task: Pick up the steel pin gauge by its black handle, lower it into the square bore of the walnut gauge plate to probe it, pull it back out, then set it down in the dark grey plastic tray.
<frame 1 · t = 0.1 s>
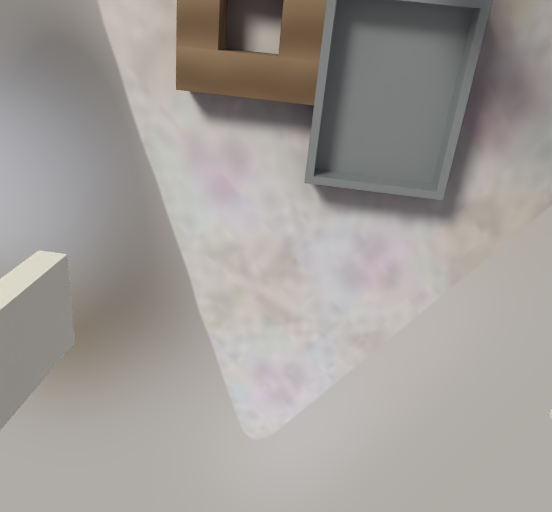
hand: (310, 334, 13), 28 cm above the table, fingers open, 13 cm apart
tray: (386, 94, 37), on the table
gauge plate: (256, 20, 36), on the table
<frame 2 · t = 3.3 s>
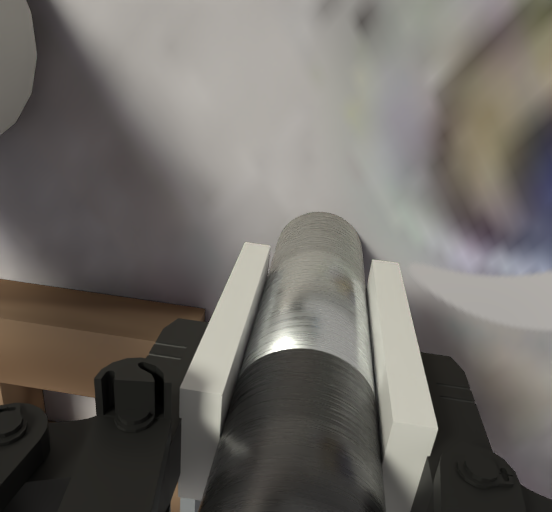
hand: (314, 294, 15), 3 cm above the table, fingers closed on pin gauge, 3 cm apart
pin gauge: (319, 252, 18), on the table, touching gripper
gauge plate: (88, 391, 22), on the table
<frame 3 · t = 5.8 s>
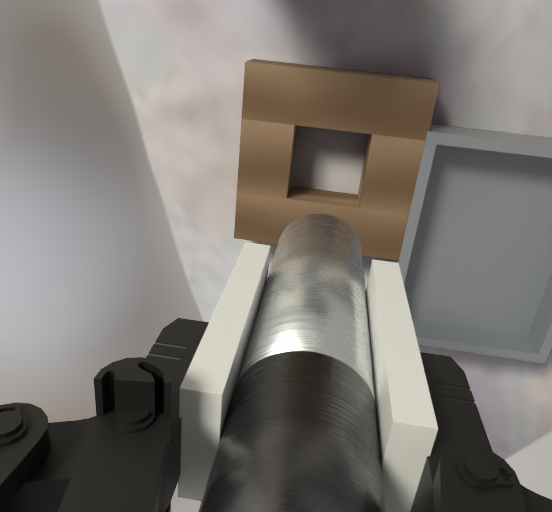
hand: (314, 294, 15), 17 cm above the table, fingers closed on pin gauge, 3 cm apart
pin gauge: (318, 253, 18), point 14 cm above the table, touching gripper
tray: (480, 240, 31), on the table
gauge plate: (328, 157, 30), on the table
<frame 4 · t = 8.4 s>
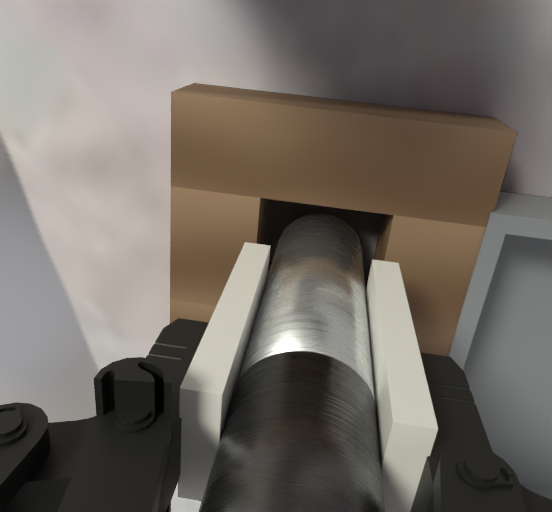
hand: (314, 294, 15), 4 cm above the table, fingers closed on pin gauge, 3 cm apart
pin gauge: (318, 253, 18), point 1 cm above the table, touching gripper
gauge plate: (320, 237, 19), on the table
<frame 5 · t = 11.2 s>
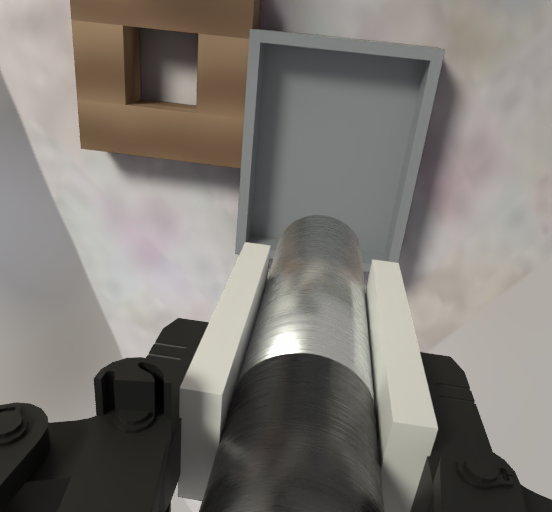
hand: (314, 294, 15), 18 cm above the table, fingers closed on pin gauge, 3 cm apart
pin gauge: (318, 254, 18), point 15 cm above the table, touching gripper
tray: (329, 152, 31), on the table
gauge plate: (174, 67, 30), on the table
when the fingers open (5 cm above the table, at t = 13.7 s): pin gauge drops 1 cm, resting on tray.
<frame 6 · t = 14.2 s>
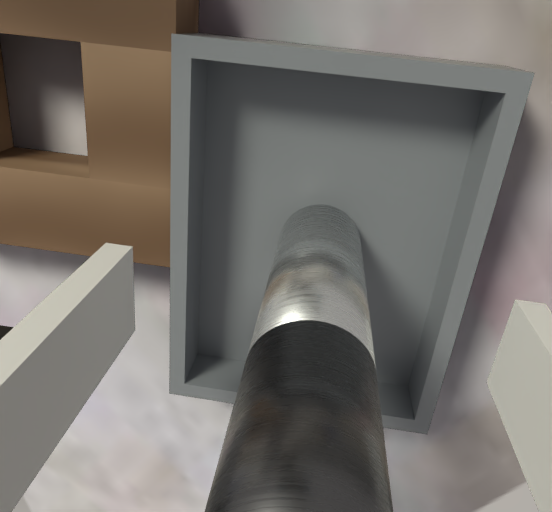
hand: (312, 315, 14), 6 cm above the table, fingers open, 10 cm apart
pin gauge: (319, 242, 19), point 1 cm above the table, touching tray
tray: (320, 234, 19), on the table
gauge plate: (61, 96, 18), on the table
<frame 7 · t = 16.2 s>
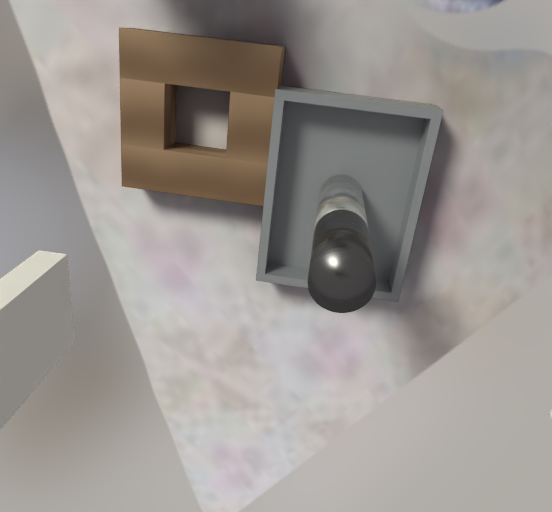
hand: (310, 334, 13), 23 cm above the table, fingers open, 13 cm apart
pin gauge: (340, 195, 35), point 1 cm above the table, touching tray
tray: (341, 192, 35), on the table
gauge plate: (205, 116, 34), on the table
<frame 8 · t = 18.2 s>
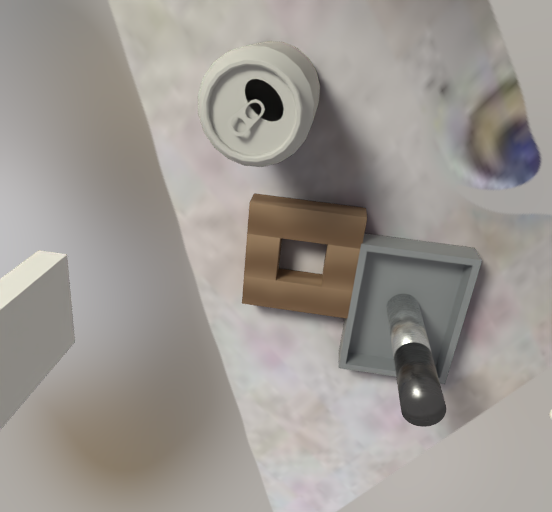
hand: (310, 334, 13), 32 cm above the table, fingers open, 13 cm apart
pin gauge: (402, 307, 47), point 1 cm above the table, touching tray
tray: (402, 303, 48), on the table
can: (275, 90, 41), on the table
gauge plate: (303, 251, 47), on the table
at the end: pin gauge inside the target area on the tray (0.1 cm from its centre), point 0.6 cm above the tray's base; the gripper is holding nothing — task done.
